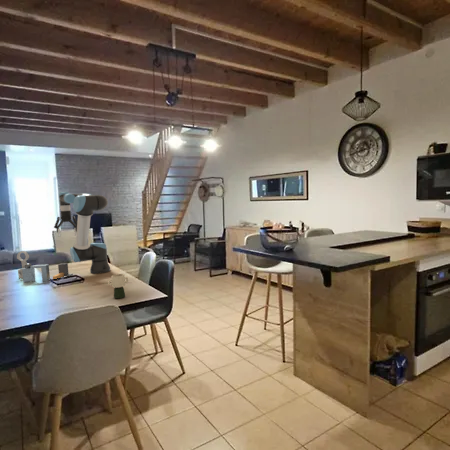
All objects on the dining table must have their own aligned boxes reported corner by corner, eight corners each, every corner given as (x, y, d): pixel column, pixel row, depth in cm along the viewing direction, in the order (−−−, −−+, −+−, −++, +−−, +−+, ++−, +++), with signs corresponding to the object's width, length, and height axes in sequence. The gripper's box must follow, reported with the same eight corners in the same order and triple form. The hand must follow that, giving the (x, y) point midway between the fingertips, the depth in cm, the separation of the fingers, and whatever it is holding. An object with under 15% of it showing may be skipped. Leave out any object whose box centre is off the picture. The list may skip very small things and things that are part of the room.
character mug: (127, 294, 189) (126, 272, 188) (130, 297, 183) (129, 274, 182) (108, 298, 183) (106, 275, 182) (111, 301, 177) (109, 277, 176)
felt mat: (72, 274, 254) (72, 273, 254) (64, 278, 239) (64, 278, 239) (59, 274, 253) (59, 274, 253) (50, 279, 239) (50, 279, 238)
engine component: (27, 278, 246) (36, 275, 256) (25, 251, 245) (34, 249, 255) (14, 278, 248) (23, 275, 257) (11, 252, 246) (21, 250, 256)
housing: (50, 279, 238) (48, 262, 237) (47, 281, 234) (45, 263, 233) (26, 281, 237) (24, 263, 236) (23, 282, 233) (21, 264, 232)
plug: (58, 279, 235) (57, 267, 234) (51, 280, 235) (50, 267, 234) (68, 274, 252) (67, 263, 251) (62, 274, 252) (61, 263, 251)
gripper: (82, 209, 273) (84, 234, 275) (52, 211, 272) (54, 236, 274) (78, 210, 266) (81, 235, 267) (48, 211, 265) (50, 237, 266)
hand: (67, 236), depth 271 cm, fingers open, 13 cm apart
